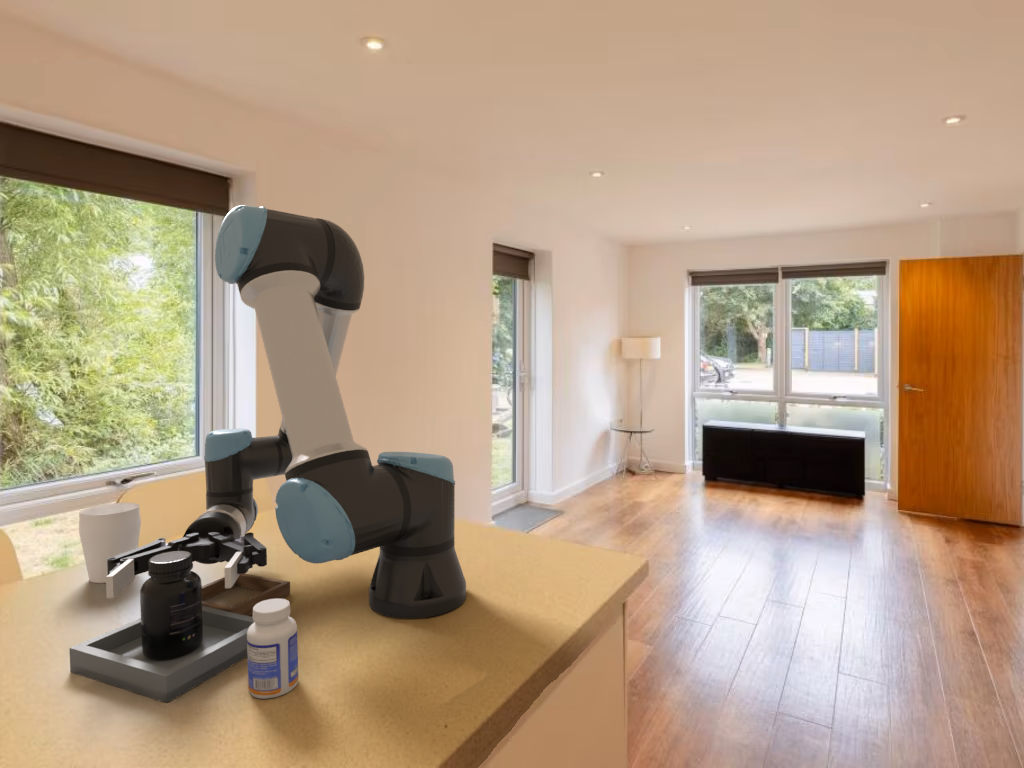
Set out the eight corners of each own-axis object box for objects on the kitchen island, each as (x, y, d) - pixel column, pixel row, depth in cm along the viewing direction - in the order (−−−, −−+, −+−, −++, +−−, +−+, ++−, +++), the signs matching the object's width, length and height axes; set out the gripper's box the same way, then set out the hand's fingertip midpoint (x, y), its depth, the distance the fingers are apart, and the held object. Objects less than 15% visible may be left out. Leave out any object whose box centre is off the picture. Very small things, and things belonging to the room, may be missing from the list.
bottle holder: (290, 594, 96) (290, 581, 96) (230, 623, 85) (230, 610, 85) (237, 583, 101) (236, 572, 101) (174, 610, 90) (174, 597, 90)
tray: (270, 642, 80) (270, 620, 80) (167, 702, 66) (166, 676, 66) (181, 621, 86) (180, 601, 86) (70, 671, 73) (69, 647, 72)
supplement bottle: (130, 654, 75) (126, 560, 74) (182, 632, 81) (179, 544, 80) (163, 667, 71) (160, 568, 71) (215, 643, 77) (212, 552, 77)
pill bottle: (283, 669, 73) (281, 591, 72) (307, 685, 69) (305, 603, 69) (239, 689, 69) (236, 606, 68) (263, 706, 65) (260, 619, 65)
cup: (154, 568, 108) (152, 502, 108) (116, 587, 100) (114, 516, 99) (108, 566, 109) (106, 502, 109) (67, 585, 100) (64, 515, 100)
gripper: (297, 551, 99) (275, 602, 78) (130, 563, 94) (58, 621, 73) (296, 506, 99) (273, 546, 78) (128, 515, 93) (56, 561, 73)
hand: (169, 582), depth 75 cm, fingers open, 13 cm apart
